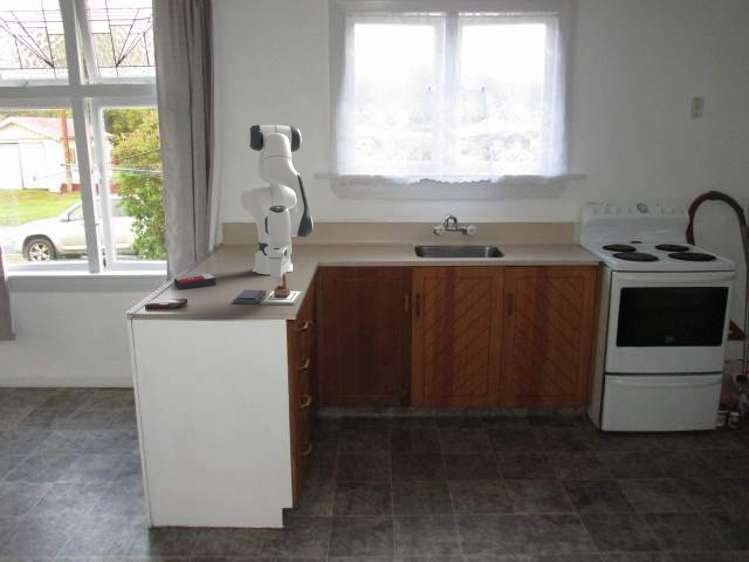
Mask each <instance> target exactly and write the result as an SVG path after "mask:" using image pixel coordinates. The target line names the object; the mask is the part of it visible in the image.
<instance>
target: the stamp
mask: <svg viewBox="0 0 749 562" xmlns="http://www.w3.org/2000/svg"><path fill="white" fill-rule="evenodd" d="M282 281H283V285H282V286H278V285H277V286H276V287H275V288H274V289H273V291H274V297H288V296H289V294H290V291H291V286H289V285H287V272H285V273H284V274H283V275H282Z"/></svg>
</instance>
